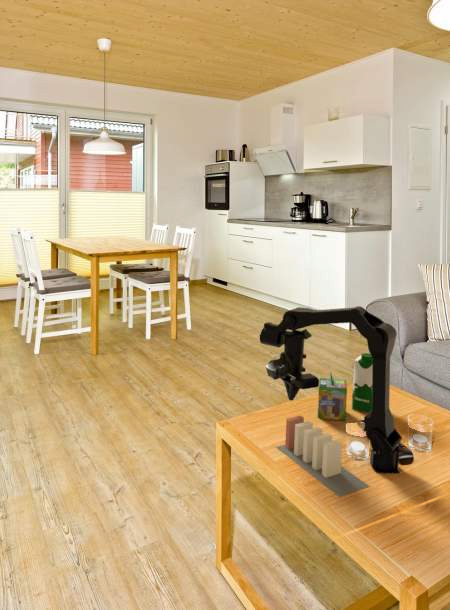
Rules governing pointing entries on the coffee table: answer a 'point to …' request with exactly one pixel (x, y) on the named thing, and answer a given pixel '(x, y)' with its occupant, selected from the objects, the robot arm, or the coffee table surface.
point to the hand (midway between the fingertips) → (291, 400)
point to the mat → (336, 483)
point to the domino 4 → (319, 449)
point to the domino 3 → (309, 443)
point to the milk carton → (362, 383)
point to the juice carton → (332, 399)
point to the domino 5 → (332, 458)
